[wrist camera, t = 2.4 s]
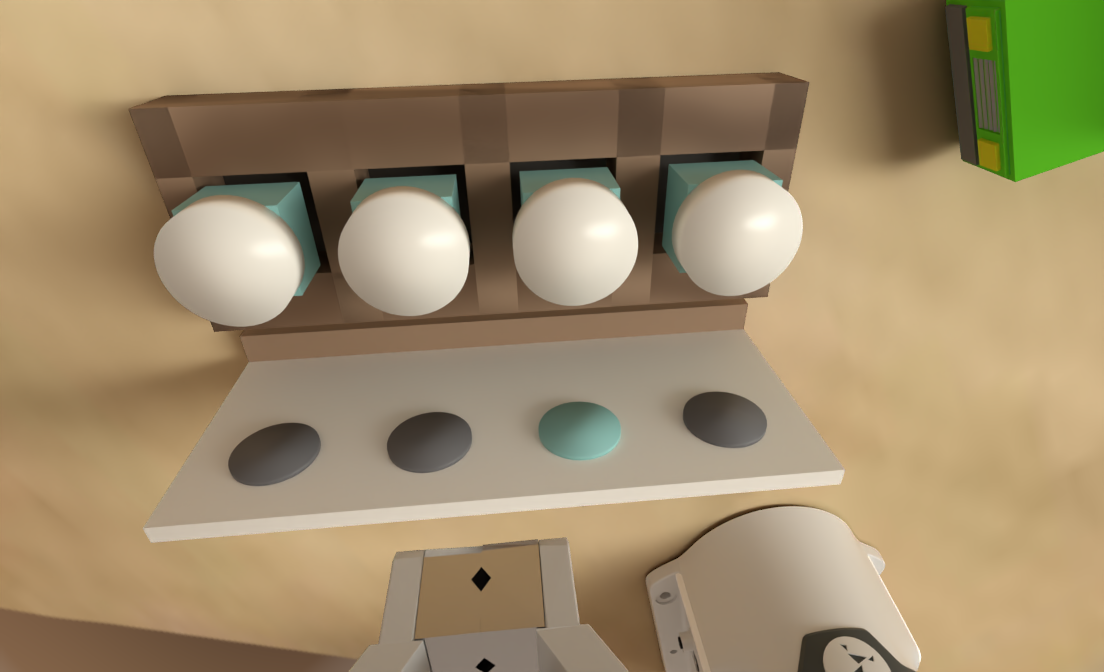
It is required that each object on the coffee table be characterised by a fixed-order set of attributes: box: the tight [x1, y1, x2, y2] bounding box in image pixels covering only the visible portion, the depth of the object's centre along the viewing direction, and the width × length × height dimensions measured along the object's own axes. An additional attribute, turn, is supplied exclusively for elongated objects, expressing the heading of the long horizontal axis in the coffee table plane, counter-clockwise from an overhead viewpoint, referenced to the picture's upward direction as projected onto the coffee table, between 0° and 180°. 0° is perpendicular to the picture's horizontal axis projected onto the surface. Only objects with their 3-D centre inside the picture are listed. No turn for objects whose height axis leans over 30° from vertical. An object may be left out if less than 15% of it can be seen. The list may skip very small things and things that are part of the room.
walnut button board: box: [129, 72, 809, 332], centre depth 27 cm, size 10×27×3 cm, turn 91°
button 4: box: [154, 182, 320, 327], centre depth 23 cm, size 5×5×4 cm
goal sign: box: [143, 298, 845, 543], centre depth 28 cm, size 4×27×12 cm, turn 91°
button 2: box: [512, 167, 638, 306], centre depth 24 cm, size 5×5×4 cm
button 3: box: [338, 174, 470, 316], centre depth 24 cm, size 5×5×4 cm
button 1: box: [662, 160, 803, 296], centre depth 24 cm, size 5×5×4 cm
